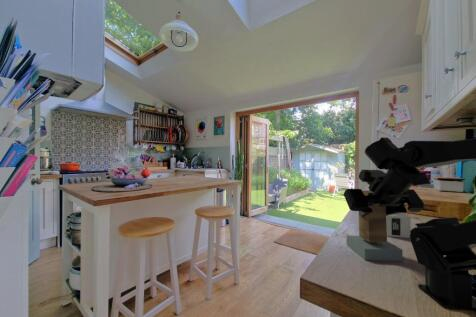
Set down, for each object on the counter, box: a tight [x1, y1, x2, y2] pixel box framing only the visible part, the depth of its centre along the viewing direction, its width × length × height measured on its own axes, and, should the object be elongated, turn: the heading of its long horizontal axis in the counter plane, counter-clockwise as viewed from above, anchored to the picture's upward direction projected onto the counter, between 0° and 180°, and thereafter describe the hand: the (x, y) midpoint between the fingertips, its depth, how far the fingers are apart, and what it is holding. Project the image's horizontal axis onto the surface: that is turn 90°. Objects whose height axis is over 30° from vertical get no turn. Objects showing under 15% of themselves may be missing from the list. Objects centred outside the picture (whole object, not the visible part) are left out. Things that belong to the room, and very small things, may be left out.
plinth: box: [346, 235, 404, 262], centre depth 61 cm, size 10×10×3 cm
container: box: [386, 213, 412, 239], centre depth 77 cm, size 8×8×13 cm
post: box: [358, 189, 388, 242], centre depth 61 cm, size 5×5×14 cm
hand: (369, 215), depth 62 cm, fingers closed on post, 5 cm apart
